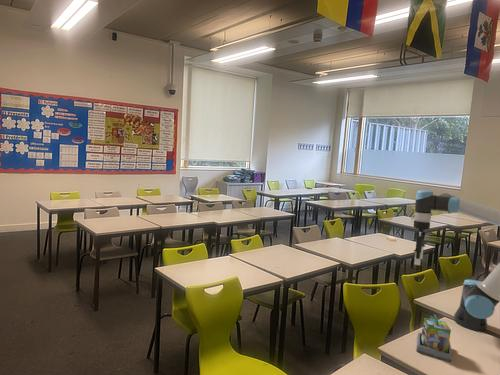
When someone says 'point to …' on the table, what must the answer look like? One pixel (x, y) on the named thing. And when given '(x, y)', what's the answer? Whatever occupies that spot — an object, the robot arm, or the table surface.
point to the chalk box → (435, 334)
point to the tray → (433, 350)
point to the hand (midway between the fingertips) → (418, 261)
